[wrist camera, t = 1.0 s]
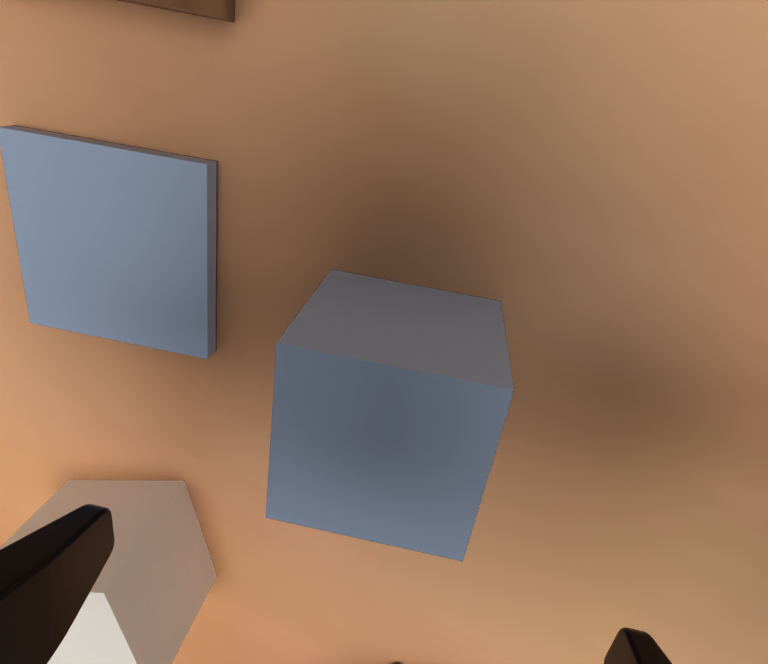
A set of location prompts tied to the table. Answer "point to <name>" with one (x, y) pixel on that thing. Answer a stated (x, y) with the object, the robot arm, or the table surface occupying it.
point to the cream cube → (135, 572)
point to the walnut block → (195, 7)
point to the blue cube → (388, 412)
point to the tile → (114, 239)
